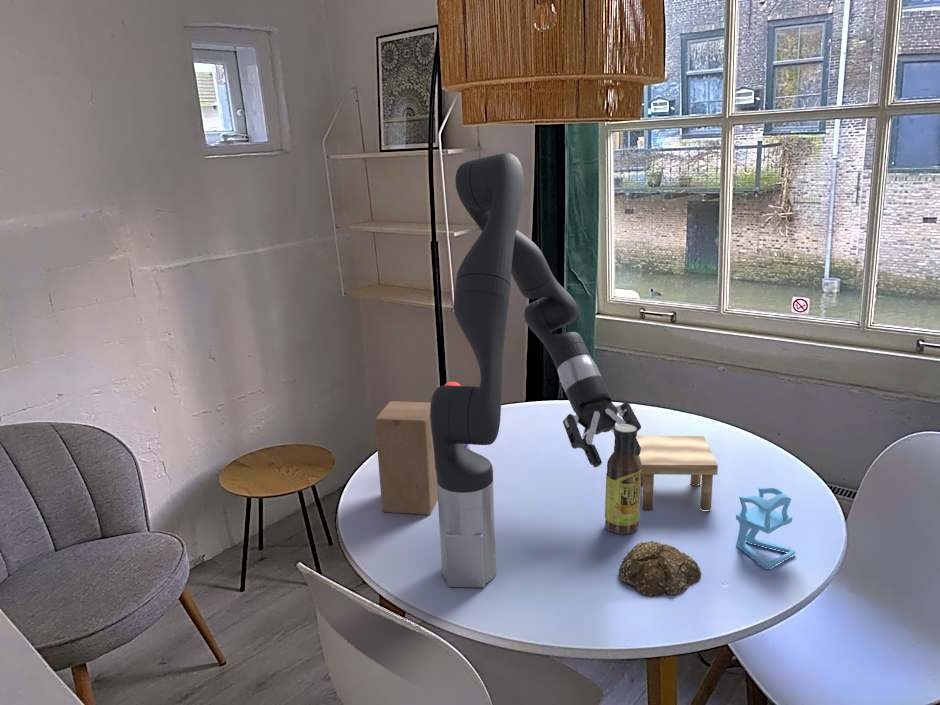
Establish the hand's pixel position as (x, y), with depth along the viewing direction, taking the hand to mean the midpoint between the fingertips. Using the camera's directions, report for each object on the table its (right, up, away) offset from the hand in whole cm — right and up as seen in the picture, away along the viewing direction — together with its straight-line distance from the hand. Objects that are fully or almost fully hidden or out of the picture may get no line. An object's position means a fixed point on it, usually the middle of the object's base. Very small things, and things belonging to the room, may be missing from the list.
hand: (617, 460), depth 143 cm
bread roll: (+4, -18, -13) cm, 22 cm away
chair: (+23, -15, -8) cm, 29 cm away
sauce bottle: (+1, -13, +2) cm, 13 cm away
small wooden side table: (+13, -9, +13) cm, 21 cm away
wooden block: (-39, -11, +15) cm, 43 cm away
